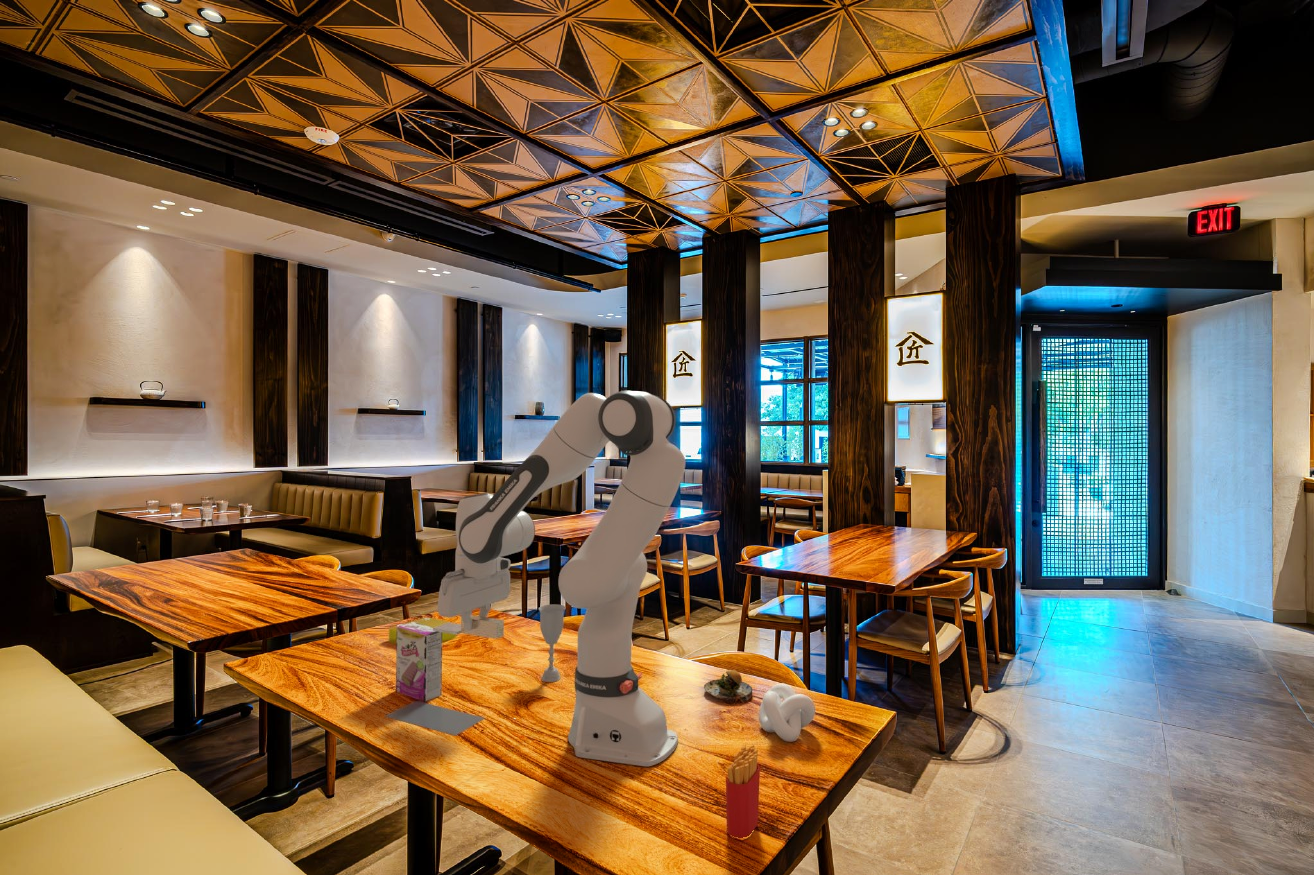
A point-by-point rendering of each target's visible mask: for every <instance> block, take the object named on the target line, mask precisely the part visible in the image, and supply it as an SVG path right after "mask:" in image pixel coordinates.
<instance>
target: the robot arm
mask: <svg viewBox="0 0 1314 875" xmlns="http://www.w3.org/2000/svg"><path fill="white" fill-rule="evenodd" d="M675 426H676V413H675V411H674V409H673V407H672V405H671V404H670V403H669V402H668V401H666V400H665V399H664V398H663V397H661V396H658V395H654V394H651V393H649V392H647V391H638V390H621V391H617V392H615V393H613V394H610V396H608V397H605V396H604V395H601V394H599V393H594V392H587V393H585V394H583V395H581V396H580V397H579V398H577V400H575V401H574V402H573V403H572V404H571V405H570V406H569V407H567V409H566V411H564V413H563V414H562V415H561V416H560V417H559V419H557V421H556V422H555V424H554V426H552V428H551V429H550V431H549V432H548V433H547V434H546V436H545V437H544V438H543V440H542V441H541V442H540V443H539V444H538V446H537V447H536V449H534V450H533V451H532V453H530V454H529V456H528V457H527V458H526V459H525V460H524V461H522V463H521V464H520V465H518V467H517V468H515V470H514V471H513V472H512V473H511V475H510V476H508V478H507V479H506V480H505V481H504V482H503V484H502V485H501V486H499V488H498V489H497V491H496V492H495V493H494V494H492V493H489V492H485V493H478V494H470V495H466V496H464V497H462V498H461V499H460V500H459V502H458V505H457V509H456V515H455V516H456V517H455V536H456V540H457V543H456V544H457V545H456V549H455V567H454V568H455V570H454V571H449V572H446V574H445V576H443V578H442V579H441V582H440V587H439V592H438V601H437V613H438V615H439V616H440V617H444V618H453V617H456V616H457V617H458V616H460V619H461V618H462V620H463V622H464V629H465V630H467V631H470V630H473V629H474V628H475V626H474V625H475V621H472V619H471V617H470V615H473V611H474V610H476V609H477V610H478V609H479V612H478V616H480V617H486V618H488V616H489V612H490V609H491V605H492V604H494V603H497V602H500V601H503V600H507V599H508V598H509V596H510V592H511V573H510V570H509V569H510V568H511V566H512V565H511V560H510V559H509V558H504V557H506V556H509V555H512V554H515V553H519V552H522V551H523V550H526V549H528V548H529V547H530V546H531V545H532V543H533V541H534V539H535V535H536V527H535V526H536V525H535V523H534V521H533V518H532V517H531V516H530V514H529V513H528V512H527V511H524V509H525V507H526V506H527V505H528V504H529V503H530V502H531V500H533V499H534V498H535V497H537V496H538V495H540V494H541V493H543V492H545V491H547V490H549V489H551V488H553V487H556V486H559V485H563V484H565V483H569V482H572V481H573V480H576V479H577V478H578V477H580V476H581V475H582V474H583V473H584V472H585V471H586V470H587V469H588V468H589V467H590V466H591V465H592V464H593V462H594V461H595V460H596V458H597V457H598V456H599V454H600V453H601V452H602V451H603V449H604V448H605V446H607V444H608V443H609V442H612V444H613V445H614V446H615V447H616V448H617V449H618V450H619V451H620V452H621V454H623V455H625V456H630V461H629V464H628V467H627V469H626V471H625V473H624V475H623V478H622V479H621V481H620V483H619V484H618V487H617V489H616V491H615V494H614V495H613V497H612V499H611V502H610V503H609V505H608V507H607V510H606V511H605V513H604V515H603V516H602V518H600V520H599V522H598V523H597V525H596V526H595V527H594V529H593V530H592V531H591V533H590V534H589V535H588V537H586V539H585V541H584V542H583V544H582V545H581V547H580V548H578V551H577V552H576V553H575V554H574V555H573V556H572V557H571V559H570V560H568V561H567V563H565V564H564V565H563V567H562V568H561V569H560V572H559V574H558V575H559V576H558V580H557V581H558V590H559V592H560V595H561V597H562V599H563V600H564V601H565V602H566V603H567V604H568V605H569V606H571V607H572V608H575V609H581V610H582V609H585V610H586V611H585V614H584V617H583V619H582V621H581V623H580V624H579V627H578V630H577V656H576V658H577V664H576V667H575V670H574V671H575V672H574V689H575V690H574V691H575V703H574V710H573V717H572V721H571V726H570V729H569V733H568V734H567V740H568V742H569V744H570V745H571V746H572V747H573V748H574V756H576V757H578V758H583V759H590V760H597V761H604V762H611V763H618V764H623V765H624V764H626V765H631V766H632V765H633V766H639V767H651V766H654V765H658V764H660V763H661V762H662V761H664V760H666V759H667V758H669V756H670V755H672V754H673V752H674V750H675V749H676V748H677V747H678V743H679V741H678V740H679V738H678V734H677V732H676V731H674V730H671V729H669V728H668V725H667V719H666V714H665V711H664V709H663V708H662V707H661V706H660V705H659V704H658V703H657V702H655V700H653V699H652V697H650V696H649V695H648V694H647V693H646V692H645V691H644V690H643V689H642V688H641V687H640V686H639V681H640V680H641V679H642V678H643V676H642V675H643V672H642V671H640V672H639V673H638V674H637V673H636V672H635V670H634V667H633V666H632V635H633V633H632V632H633V625H634V620H635V614H636V610H637V604H638V601H639V594H640V591H641V586H642V584H643V581H644V579H645V577H646V575H647V572H648V562H647V557H646V556H645V554H644V552H643V551H644V550H645V549H646V547H648V545H649V544H651V543H652V541H653V540H654V538H655V536H656V535H657V532H658V531H659V528H661V525H662V523H663V521H664V519H665V517H666V515H667V513H668V511H669V509H670V507H671V505H672V503H673V501H674V499H675V496H676V495H677V492H678V489H679V487H680V485H681V482H682V478H683V475H684V471H685V468H686V459H685V455H684V453H683V452H682V450H681V449H679V448H678V447H677V446H676V444H675V445H674V444H673V443H671V442H670V441H669V440H668V438H669V437H670V436H671V435H672V433H674V432H673V431H674V430H675Z"/></svg>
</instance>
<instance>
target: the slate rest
mask: <svg viewBox="0 0 1314 875" xmlns="http://www.w3.org/2000/svg"><path fill="white" fill-rule="evenodd" d="M384 717H386V718H389V719H393V720H396V721H400V722H404V723H408V724H411V725H415V726H419V727H422V728H426V729H430V730H433V731H437V732H441V733H445V734H447V735H452V736H455V737H457V735H459V734H461V733H464V732H465V731H466V730H468V729H470V728H471V727H473V726H475V725H476V724H478V723H480V722H482V721H483V720H484V719H486V717H483V716H479V715H475V714H471V713H468V712H467V713H466V712H464V711H458V710H454V709H451V708H446V707H442V706H438V705H435V704H431V703H426V702H424V701H420V700H414V701H413V702H411V703H409V704H406V705H405V706H402V707H400V708H398V709H396V710H394V711H392V712H390V713H387V714H386V715H384Z"/></svg>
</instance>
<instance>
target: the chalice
mask: <svg viewBox="0 0 1314 875" xmlns="http://www.w3.org/2000/svg"><path fill="white" fill-rule="evenodd" d="M565 610H566V606H565V605H562V604H555V603H554V604H552V603H551V604H545V605H541V606H540V607H538V611H539V613H540V616H539V617H540V620H539V621H540V626H539V627H540V628H539V629H540V631H541V635H542V637H543V639H544V642H545V644H547V645H549V650H548V651H547V652H548V654H549V657H548V659H547V660H548V663H549V665H548V667H546V668H545V669H544V671H543V673H542V676H541V678H540V680H541V681H542V682H545V683H546V682H547V683H553V682H558V681H560V680H561V678H562V677H561V675H560V672H559V670H558V668H556V667H555V666H554V661H555V658H554V653H555V650H554V645H555V644H557V643H558V641H559V639H560V637H561V634H562V632H563V628H564V612H565Z"/></svg>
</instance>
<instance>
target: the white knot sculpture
mask: <svg viewBox="0 0 1314 875" xmlns="http://www.w3.org/2000/svg"><path fill="white" fill-rule="evenodd" d="M815 715H816V705H815V703H814V701H813V700H812V699H811V697H809V696H807V695H805V694H803V693H796V691H795V689H794V688H793V687H791V686H790V685H788V684H787V683H783V682H782V683H777V684H774V685H772V687H770V688H769V690H768V691H766V692H765V693H764V694H763V697H762V701H761V703H760V707H759V710H758V721H759V725H760V728H762V729H763V730H764V731H765V732H768V733H776V735H778V737H779V738H781V739H782V740H783V741H785V742H787V743H792V742H796V741H797V739H798V738H799V736H800V735H801V730H802V729H803V728H806V727H807V726H808V725H809V724H810V723H811V722H812V721H813V720H814V718H815Z"/></svg>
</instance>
